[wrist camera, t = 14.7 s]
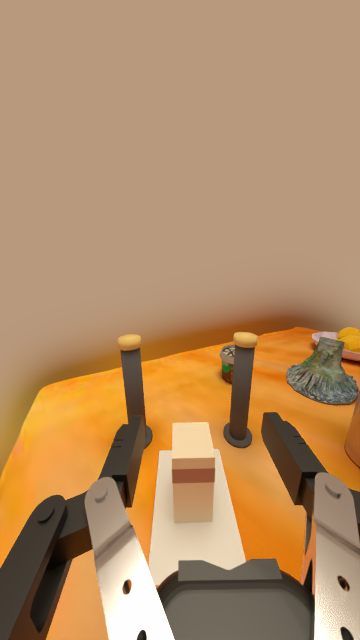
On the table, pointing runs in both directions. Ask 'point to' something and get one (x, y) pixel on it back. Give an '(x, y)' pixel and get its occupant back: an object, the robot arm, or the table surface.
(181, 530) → the mat
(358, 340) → the fruit bowl
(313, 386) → the tree stump
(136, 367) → the gate
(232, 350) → the food container
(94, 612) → the table surface
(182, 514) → the carton
